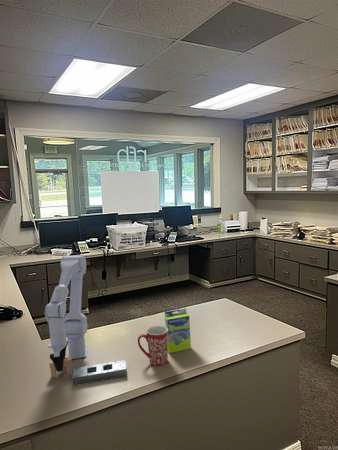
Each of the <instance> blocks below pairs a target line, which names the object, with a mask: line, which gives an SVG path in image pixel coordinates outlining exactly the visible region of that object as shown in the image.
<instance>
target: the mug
mask: <svg viewBox="0 0 338 450" xmlns="http://www.w3.org/2000/svg"><path fill="white" fill-rule="evenodd" d="M145 333H146V334H145ZM145 333H144V334H139V335H138V337H137V345H138V347H139V349H140V351H142V353H143V354H144V355H145V356H146V357H147V358H148V359H149V363H150V364H151V365H152V366H155V367H156V366H157V367H158V366H159V367H160V366H163V365H165V364H167V363H168V361H169V360H168V359H169V358H168V356H169V355H168V354H169V352H168V328H166V326H164V325H154V326H153V325H152V326H150V327H148V328H146V330H145ZM141 338H144V339H145V340H146V342H147V347H148V352H147V351H146V350H145V349H144V347H142V345H141V341H140V340H141Z"/></svg>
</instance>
